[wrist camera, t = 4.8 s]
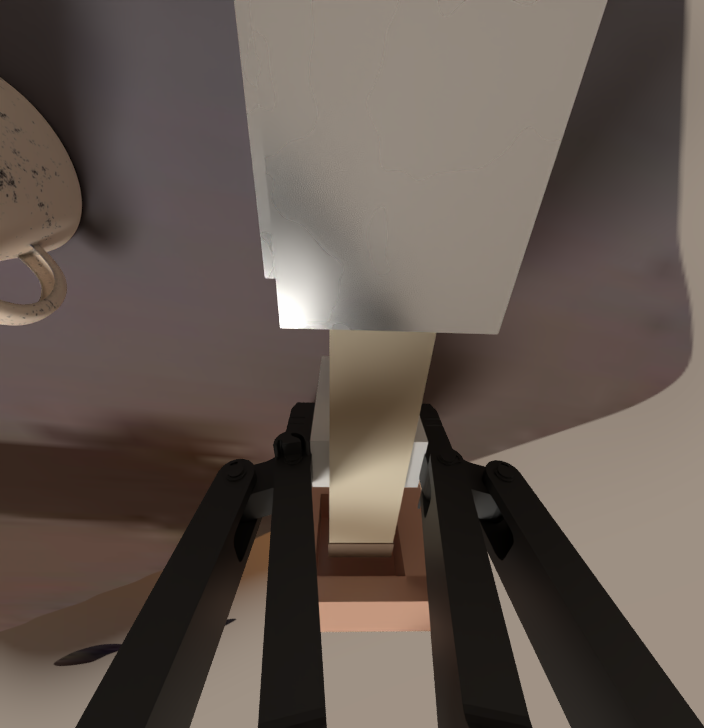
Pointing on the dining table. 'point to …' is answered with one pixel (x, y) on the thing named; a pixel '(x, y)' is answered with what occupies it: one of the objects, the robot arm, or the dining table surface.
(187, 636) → the robot arm
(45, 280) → the teacup with lid
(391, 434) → the bar
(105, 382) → the dining table surface
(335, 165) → the sleeve
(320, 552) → the socket block
